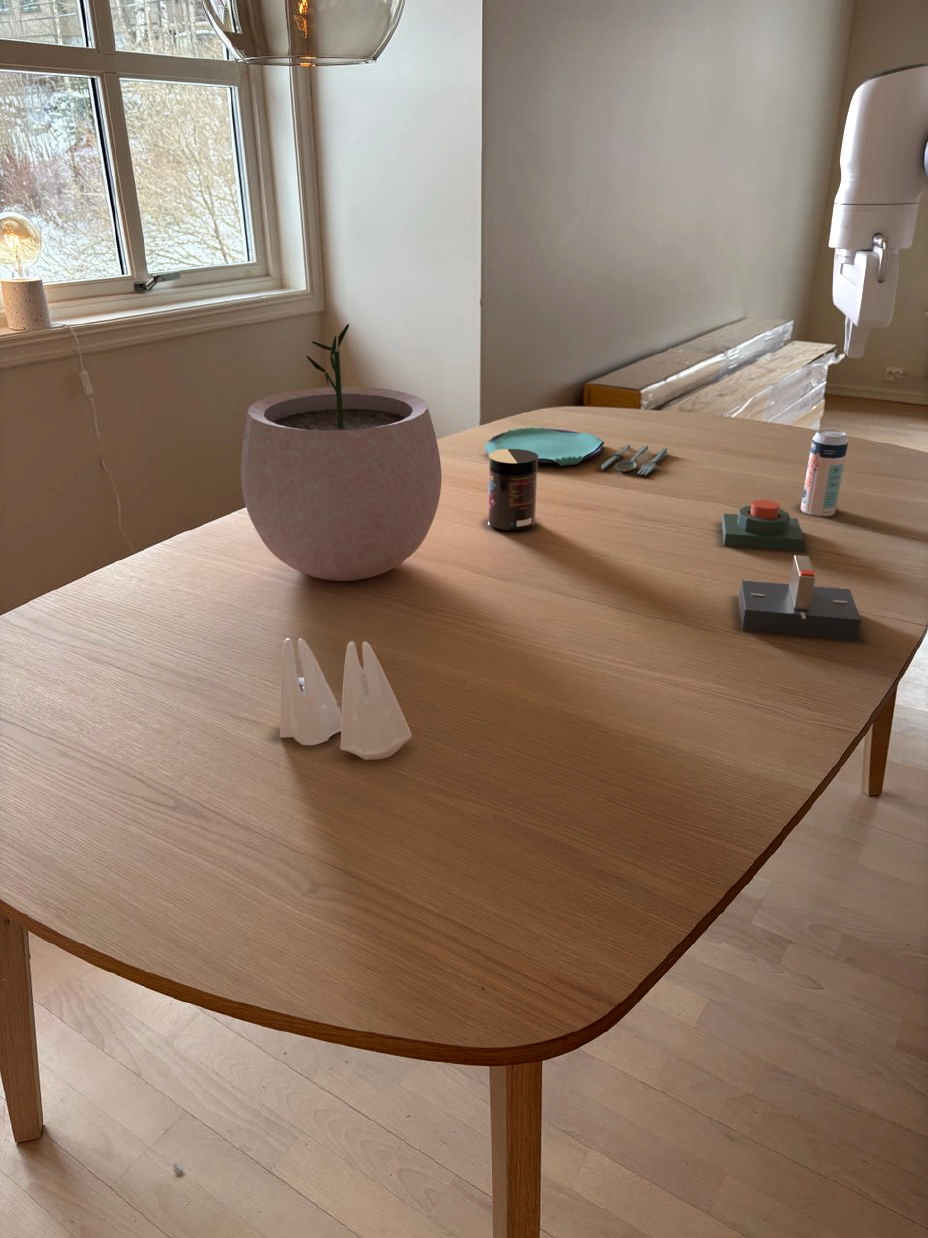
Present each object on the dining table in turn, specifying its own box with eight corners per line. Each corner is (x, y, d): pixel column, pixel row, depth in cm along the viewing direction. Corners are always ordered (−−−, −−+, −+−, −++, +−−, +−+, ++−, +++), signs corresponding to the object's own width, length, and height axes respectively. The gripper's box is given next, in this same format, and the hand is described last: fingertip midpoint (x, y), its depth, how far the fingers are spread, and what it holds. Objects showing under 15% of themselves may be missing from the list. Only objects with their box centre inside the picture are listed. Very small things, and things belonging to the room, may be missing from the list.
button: (776, 512, 129) (778, 500, 128) (778, 521, 126) (780, 509, 125) (749, 510, 130) (750, 498, 129) (750, 519, 127) (752, 507, 126)
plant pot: (329, 523, 135) (315, 303, 122) (476, 556, 124) (478, 319, 111) (210, 583, 116) (178, 331, 103) (370, 628, 106) (358, 353, 92)
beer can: (806, 505, 142) (819, 426, 137) (838, 512, 140) (853, 432, 135) (795, 514, 139) (809, 434, 134) (828, 521, 136) (844, 439, 131)
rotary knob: (788, 587, 109) (794, 552, 107) (803, 588, 108) (809, 553, 107) (794, 609, 103) (800, 573, 102) (809, 610, 103) (815, 575, 101)
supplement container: (514, 515, 138) (516, 445, 134) (545, 529, 133) (548, 457, 129) (477, 525, 134) (478, 454, 130) (508, 540, 130) (510, 466, 125)
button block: (795, 533, 132) (799, 506, 130) (801, 555, 125) (806, 526, 123) (721, 527, 134) (724, 501, 132) (723, 549, 127) (727, 520, 125)
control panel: (843, 608, 111) (848, 583, 109) (857, 649, 102) (863, 622, 100) (737, 599, 113) (740, 575, 111) (742, 638, 104) (746, 612, 103)
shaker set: (415, 752, 84) (412, 641, 79) (391, 777, 81) (387, 663, 76) (303, 719, 89) (294, 613, 84) (276, 741, 86) (265, 632, 81)
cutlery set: (514, 433, 178) (515, 421, 177) (672, 454, 166) (674, 441, 165) (468, 461, 162) (468, 448, 161) (639, 487, 150) (641, 473, 149)
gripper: (921, 237, 98) (898, 373, 104) (885, 225, 116) (867, 342, 122) (856, 237, 99) (837, 372, 105) (830, 226, 117) (815, 341, 123)
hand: (853, 356), depth 113 cm, fingers closed
